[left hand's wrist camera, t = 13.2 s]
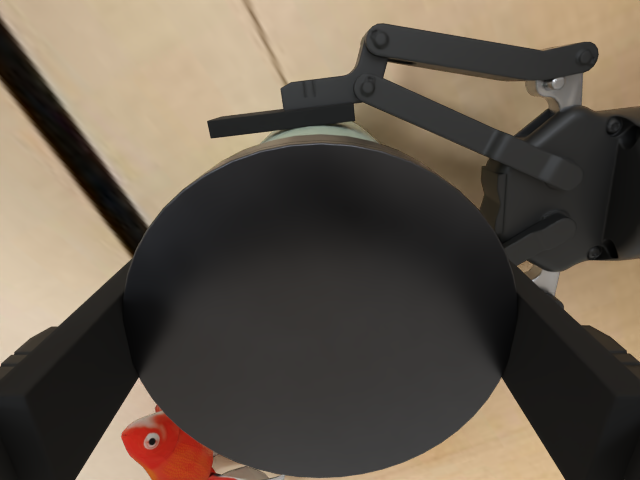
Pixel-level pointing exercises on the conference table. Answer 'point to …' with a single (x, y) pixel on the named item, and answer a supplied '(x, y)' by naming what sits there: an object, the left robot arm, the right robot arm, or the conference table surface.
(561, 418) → the left robot arm
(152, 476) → the fish
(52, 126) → the conference table surface
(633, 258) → the right robot arm
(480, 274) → the lid
